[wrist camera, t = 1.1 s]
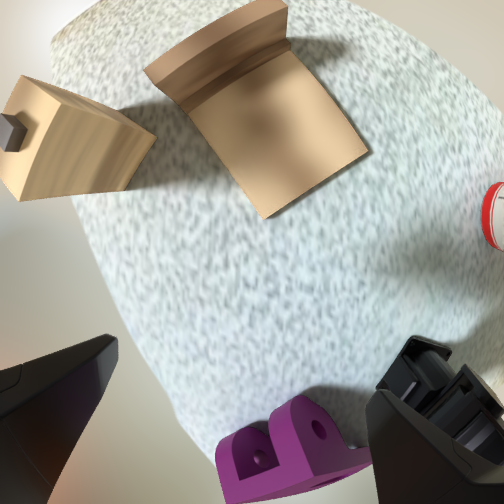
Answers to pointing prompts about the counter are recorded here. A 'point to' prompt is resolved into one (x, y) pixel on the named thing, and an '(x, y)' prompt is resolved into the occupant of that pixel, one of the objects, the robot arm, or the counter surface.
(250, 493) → the mounting bracket
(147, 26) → the counter surface
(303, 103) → the cleat board
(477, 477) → the robot arm
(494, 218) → the beer can
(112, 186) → the cabinet block
